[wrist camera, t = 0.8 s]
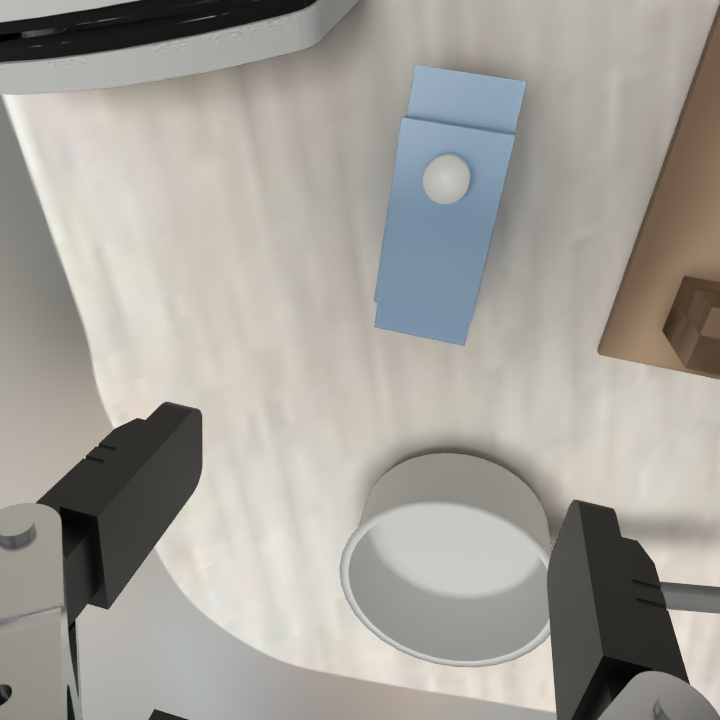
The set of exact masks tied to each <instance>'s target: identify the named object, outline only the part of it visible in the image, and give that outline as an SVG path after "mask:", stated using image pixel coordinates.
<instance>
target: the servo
mask: <svg viewBox="0 0 720 720" xmlns="http://www.w3.org/2000/svg"><path fill="white" fill-rule="evenodd" d="M526 83H527V81H522V80H515V79H508V78H501V77H494V76H488V75H481V74H474V73H467V72H461V71H454V70H447V69H440V68H434V67H427V66H420V65H415V67H414V74H413V80H412V87H411V93H410V99H409V106H408V112H407V116H404V117H402V119H401V126H400V133H399V139H398V146H397V152H396V159H395V165H394V172H393V179H392V185H391V192H390V198H389V205H388V212H387V218H386V225H385V231H384V238H383V245H382V251H381V258H380V264H379V271H378V278H377V284H376V291H375V297H374V301H375V302H378V306H377V312H376V319H375V325H374V327H376V328H381V329H386V330H391V331H395V332H400V333H405V334H410V335H414V336H419V337H424V338H429V339H433V340H438V341H443V342H448V343H453V344H457V345H462V346H465V341H466V337H467V333H468V329H469V324H470V321H472V317H473V313H474V309H475V304H476V300H477V296H478V292H479V287H480V283H481V279H482V275H483V271H484V266H485V262H486V258H487V254H488V249H489V245H490V241H491V237H492V233H493V228H494V224H495V220H496V216H497V211H498V207H499V203H500V199H501V195H502V190H503V186H504V182H505V178H506V174H507V169H508V165H509V161H510V157H511V152H512V148H513V144H514V140H515V129H516V125H517V121H518V117H519V113H520V108H521V104H522V100H523V96H524V91H525V87H526Z"/></svg>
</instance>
